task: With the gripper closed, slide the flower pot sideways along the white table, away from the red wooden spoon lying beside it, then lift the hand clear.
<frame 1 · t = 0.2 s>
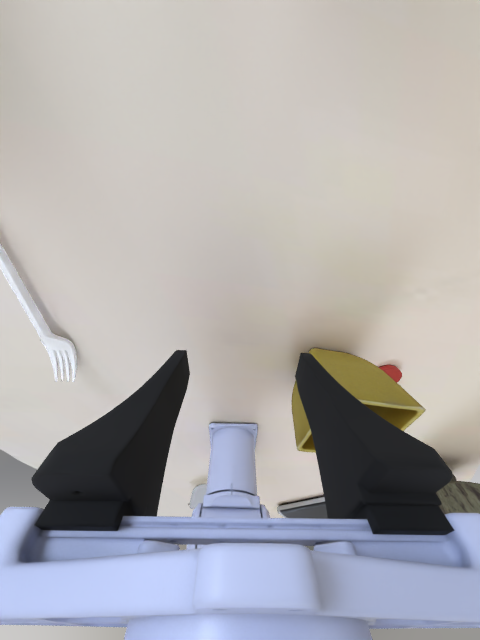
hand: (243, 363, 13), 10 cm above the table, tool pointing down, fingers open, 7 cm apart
flower pot: (322, 362, 27), on the table
eyeglasses: (223, 485, 47), on the table
smartphone: (333, 501, 52), on the table
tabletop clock: (427, 464, 41), on the table
red spoon: (372, 395, 30), on the table
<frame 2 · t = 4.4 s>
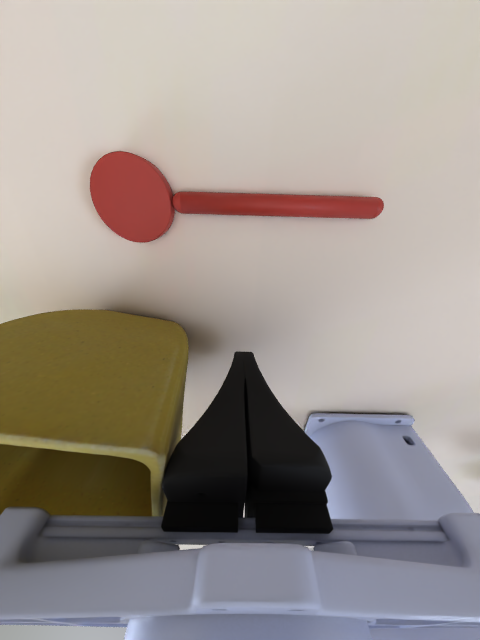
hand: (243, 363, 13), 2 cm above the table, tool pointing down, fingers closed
flower pot: (144, 341, 15), on the table, touching gripper
red spoon: (225, 203, 10), on the table
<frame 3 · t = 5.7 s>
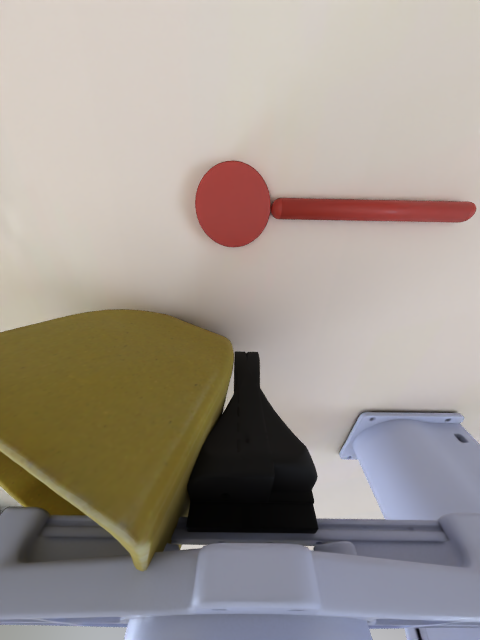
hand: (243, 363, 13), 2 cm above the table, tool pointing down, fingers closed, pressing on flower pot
flower pot: (195, 351, 14), point 1 cm above the table, touching gripper
red spoon: (317, 209, 10), on the table
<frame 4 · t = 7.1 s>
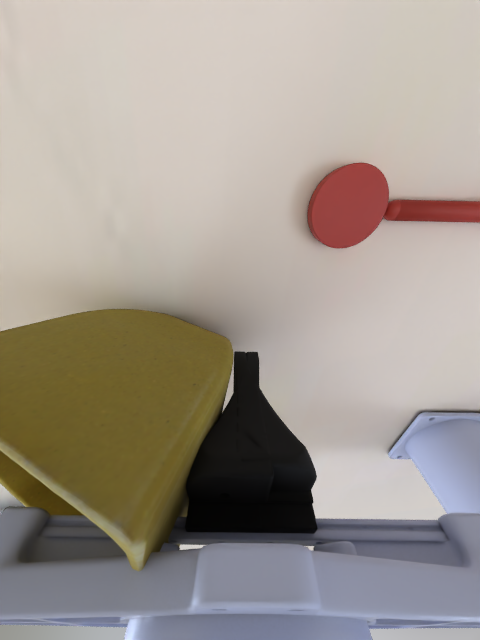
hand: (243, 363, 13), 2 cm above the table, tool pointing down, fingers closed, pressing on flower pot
flower pot: (195, 351, 14), point 1 cm above the table, touching gripper
red spoon: (426, 210, 10), on the table
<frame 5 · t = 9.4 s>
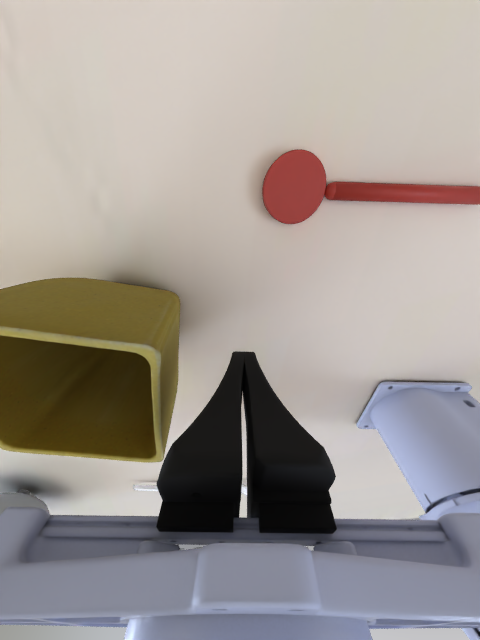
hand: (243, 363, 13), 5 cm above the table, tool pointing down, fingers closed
dish: (26, 490, 36), on the table
flower pot: (144, 311, 17), on the table
red spoon: (362, 192, 12), on the table
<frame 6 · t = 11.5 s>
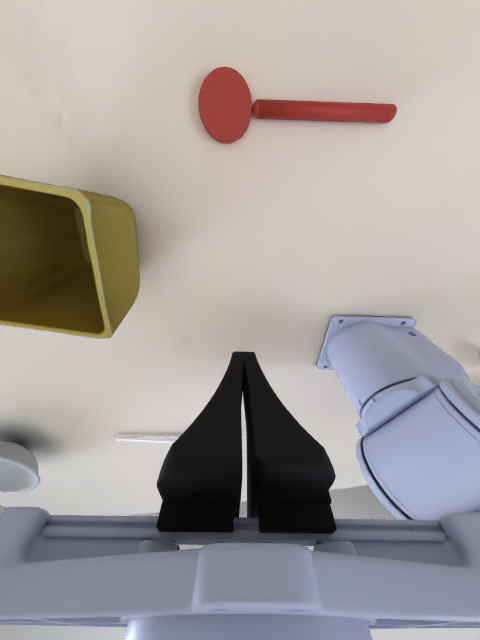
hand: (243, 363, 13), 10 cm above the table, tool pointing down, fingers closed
dish: (16, 443, 38), on the table
flower pot: (110, 238, 19), on the table
red spoon: (286, 112, 14), on the table
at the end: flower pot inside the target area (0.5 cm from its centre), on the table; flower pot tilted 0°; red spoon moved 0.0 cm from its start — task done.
